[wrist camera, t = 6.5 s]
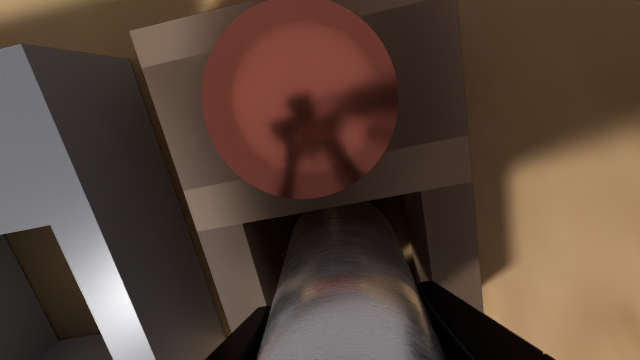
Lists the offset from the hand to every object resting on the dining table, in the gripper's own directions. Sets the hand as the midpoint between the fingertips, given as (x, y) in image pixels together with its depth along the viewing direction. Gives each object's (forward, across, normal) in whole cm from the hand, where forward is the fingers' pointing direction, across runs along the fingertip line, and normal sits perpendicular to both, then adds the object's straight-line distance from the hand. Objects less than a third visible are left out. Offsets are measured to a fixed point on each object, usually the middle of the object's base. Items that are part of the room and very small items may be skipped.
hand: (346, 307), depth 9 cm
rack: (+4, +10, -2) cm, 11 cm away
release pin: (+3, 0, -6) cm, 6 cm away
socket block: (+4, 0, -2) cm, 5 cm away
